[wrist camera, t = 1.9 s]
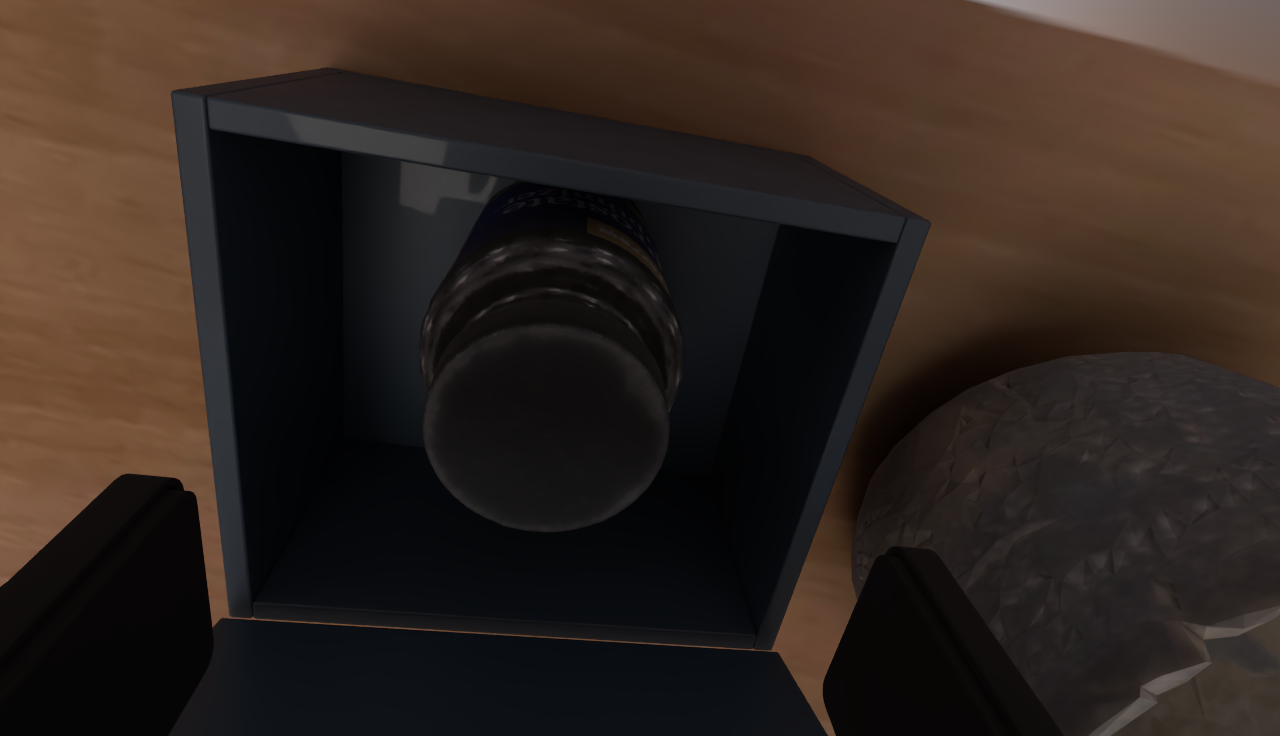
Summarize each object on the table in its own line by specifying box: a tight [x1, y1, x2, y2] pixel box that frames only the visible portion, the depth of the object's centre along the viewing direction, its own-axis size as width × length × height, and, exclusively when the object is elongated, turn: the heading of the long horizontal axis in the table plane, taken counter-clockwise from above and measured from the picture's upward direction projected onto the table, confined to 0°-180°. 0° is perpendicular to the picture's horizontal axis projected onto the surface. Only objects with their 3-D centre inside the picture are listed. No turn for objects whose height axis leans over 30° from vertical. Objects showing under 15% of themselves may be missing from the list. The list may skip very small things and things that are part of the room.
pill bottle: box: [419, 181, 685, 532], centre depth 18 cm, size 6×6×11 cm
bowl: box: [851, 352, 1280, 736], centre depth 22 cm, size 18×18×15 cm
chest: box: [171, 67, 931, 650], centre depth 20 cm, size 13×15×9 cm
